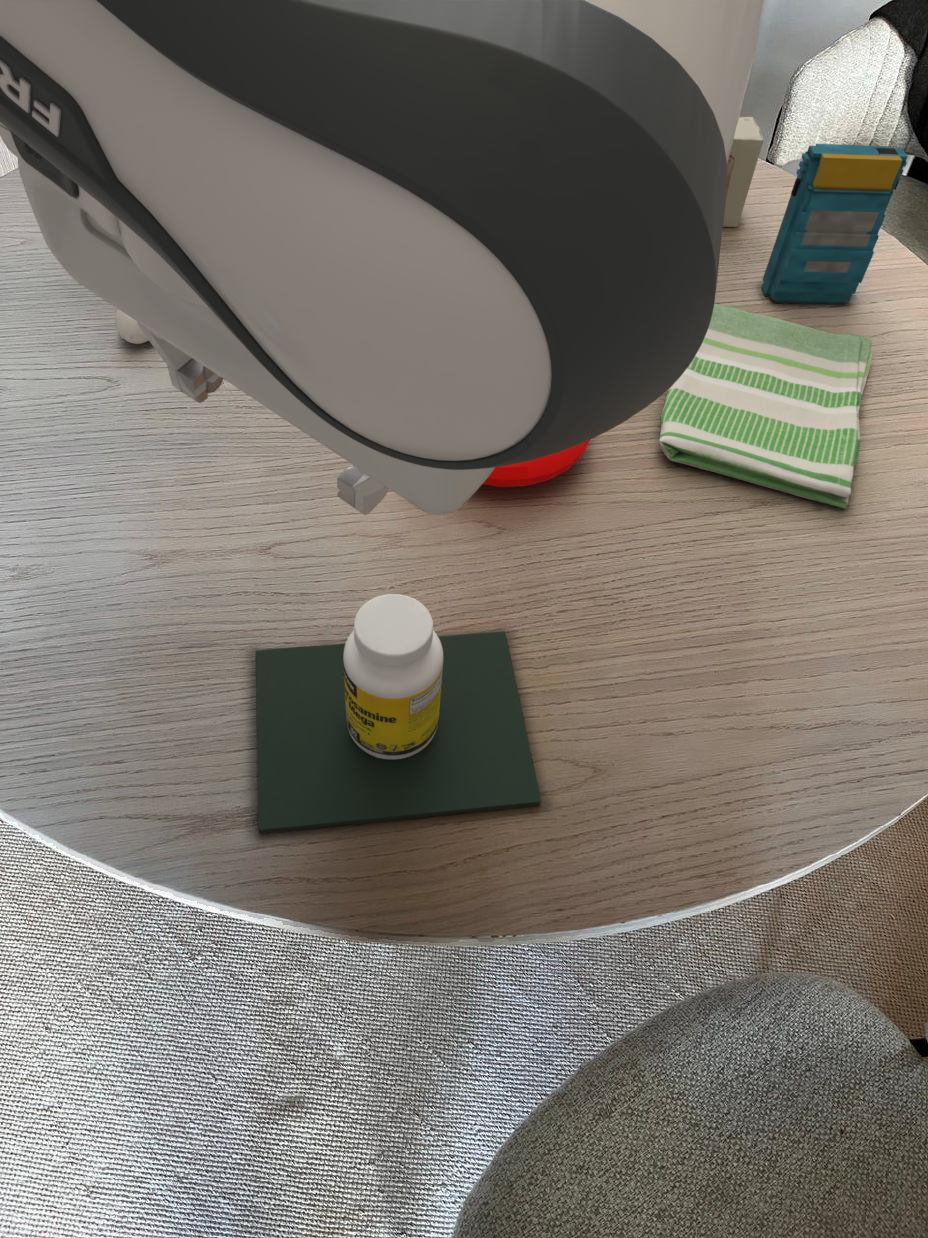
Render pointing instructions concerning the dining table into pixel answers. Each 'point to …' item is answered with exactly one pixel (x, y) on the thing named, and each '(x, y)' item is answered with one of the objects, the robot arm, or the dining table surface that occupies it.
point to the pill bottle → (392, 677)
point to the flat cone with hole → (535, 468)
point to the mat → (383, 788)
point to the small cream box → (741, 168)
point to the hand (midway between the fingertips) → (279, 441)
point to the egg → (129, 328)
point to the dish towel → (770, 405)
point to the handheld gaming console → (832, 222)
